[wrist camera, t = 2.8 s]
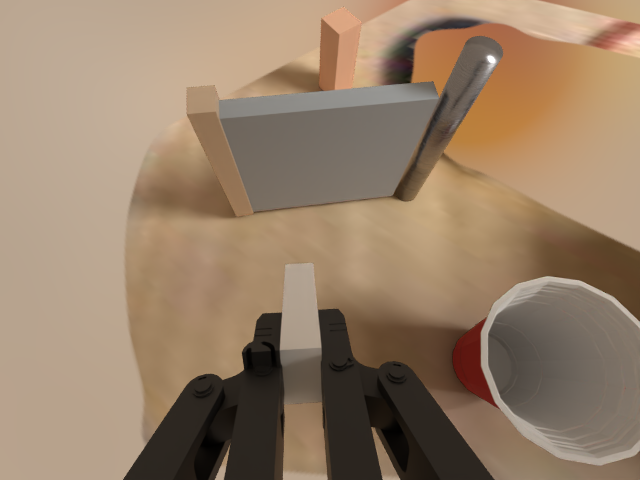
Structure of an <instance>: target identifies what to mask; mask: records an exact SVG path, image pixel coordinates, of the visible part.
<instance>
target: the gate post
mask: <svg viewBox="0 0 640 480" xmlns="http://www.w3.org/2000/svg"><path fill="white" fill-rule="evenodd" d="M502 56H503V50H502V47H501V46H500V45H499V43H497V42H496V41H495V40H493V39H491V38H488V37H484V36H476V37H472V38H470V39H469V40H468V41H467V42H466V43H465V45H464V48H463V50H462V52H461V54H460V56H459V58H458V60H457V62H456V65H455V66H454V68H453V70H452V73H451V75H450V77H449V79H448V81H447V83H446V85H445V87H444V89H443V91H442V94H441V96H440V98H439V100H438V102H437V104H436V106H435V109H434V111H433V113H432V115H431V117H430V119H429V121H428V123H427V125H426V127H425V129H424V131H423V133H422V136H421V138H420V140H419V142H418V144H417V146H416V148H415V150H414V152H413V154H412V156H411V158H410V160H409V163H408V165H407V167H406V169H405V171H404V173H403V175H402V177H401V179H400V181H399V183H398V185H397V187H396V190H395V192H396V195H397V197H398V198H399V199H401V200H403V201H411V200H413V199H414V198H415V197H416V195H417V194H418V192H419V190H420V189H421V187H422V186H423V184H424V182H425V181H426V179H427V177H428V176H429V174H430V173H431V171H432V169H433V168H434V166H435V165H436V163H437V161H438V160H439V158H440V156H441V155H442V153H443V152H444V150H445V148H446V147H447V145H448V143H449V142H450V140H451V139H452V137H453V135H454V134H455V132H456V130H457V129H458V127H459V126H460V124H461V123H462V121H463V119H464V118H465V116H466V114H467V113H468V111H469V109H470V108H471V106H472V105H473V103H474V101H475V100H476V98H477V97H478V95H479V93H480V92H481V90H482V89H483V87H484V85H485V84H486V82H487V81H488V79H489V77H490V75H491V74H492V72H493V71H494V69H495V67H496V66H497V64H498V63H499V61H500V60H501V58H502Z"/></svg>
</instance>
